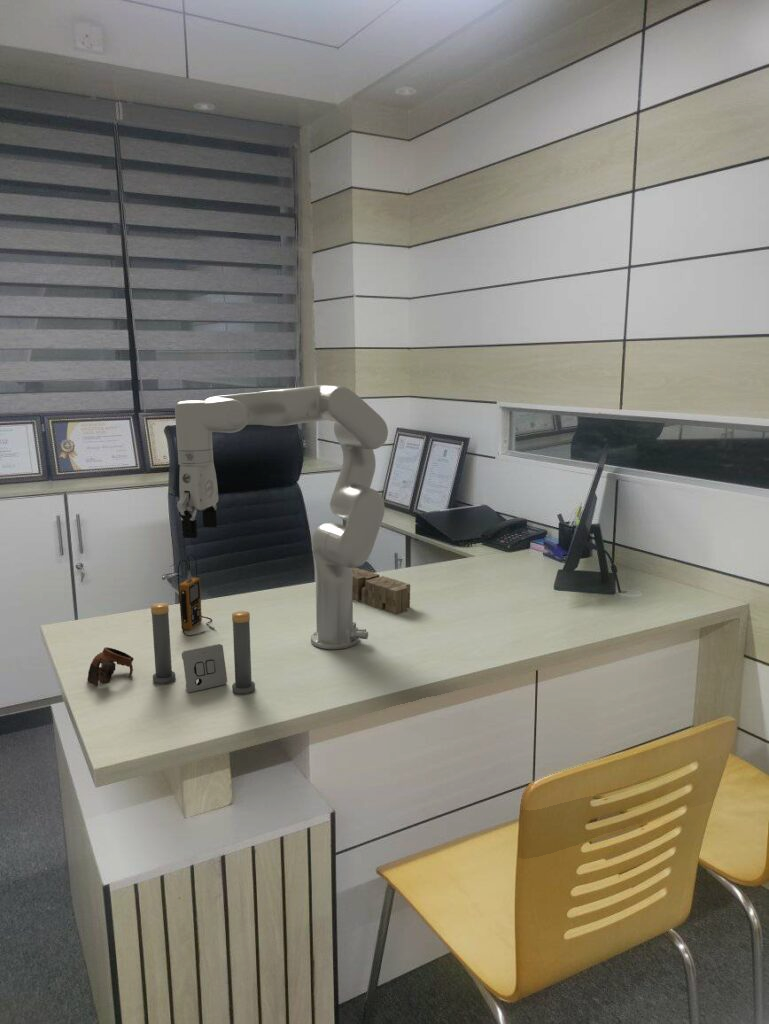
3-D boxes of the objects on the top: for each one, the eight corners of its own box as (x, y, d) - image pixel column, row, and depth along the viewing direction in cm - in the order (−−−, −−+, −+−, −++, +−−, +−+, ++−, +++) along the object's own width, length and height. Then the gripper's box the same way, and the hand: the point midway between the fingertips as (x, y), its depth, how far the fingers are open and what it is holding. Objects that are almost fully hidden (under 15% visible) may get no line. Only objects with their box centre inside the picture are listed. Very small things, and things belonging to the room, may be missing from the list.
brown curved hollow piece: (86, 675, 175) (101, 642, 176) (125, 690, 177) (140, 657, 178) (79, 684, 163) (95, 649, 164) (120, 699, 165) (136, 664, 166)
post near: (258, 686, 168) (256, 611, 164) (249, 696, 163) (246, 618, 160) (238, 683, 169) (235, 609, 166) (228, 693, 165) (225, 616, 161)
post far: (179, 676, 173) (175, 603, 169) (168, 685, 168) (163, 610, 165) (160, 674, 174) (155, 601, 171) (148, 683, 170) (143, 608, 166)
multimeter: (209, 638, 196) (206, 565, 192) (174, 635, 198) (170, 563, 194) (231, 619, 210) (228, 551, 206) (198, 616, 212) (195, 549, 208)
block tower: (413, 612, 220) (348, 587, 240) (414, 585, 218) (348, 562, 238) (394, 618, 215) (329, 592, 235) (395, 591, 213) (330, 567, 233)
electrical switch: (187, 694, 164) (184, 653, 163) (181, 687, 169) (177, 648, 168) (228, 685, 169) (225, 645, 168) (220, 678, 173) (218, 640, 172)
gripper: (192, 463, 154) (198, 542, 158) (228, 452, 171) (232, 524, 174) (160, 462, 156) (166, 541, 160) (198, 451, 172) (202, 522, 176)
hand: (200, 532), depth 167 cm, fingers open, 9 cm apart
